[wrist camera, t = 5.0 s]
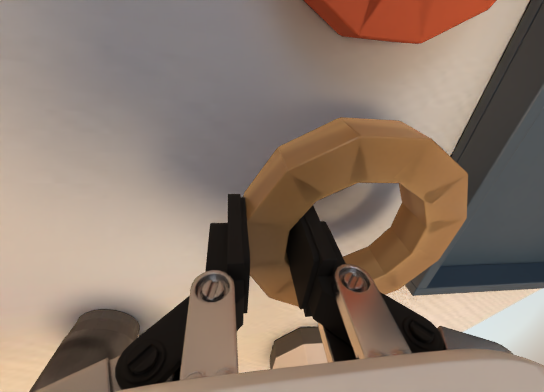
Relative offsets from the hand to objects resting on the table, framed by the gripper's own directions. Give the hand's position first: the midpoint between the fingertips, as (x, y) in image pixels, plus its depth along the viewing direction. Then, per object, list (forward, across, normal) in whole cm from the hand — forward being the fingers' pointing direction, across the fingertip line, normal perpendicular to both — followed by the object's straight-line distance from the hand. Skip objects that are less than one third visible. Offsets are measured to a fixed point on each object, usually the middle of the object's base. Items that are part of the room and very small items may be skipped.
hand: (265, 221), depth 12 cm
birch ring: (0, -4, 0) cm, 4 cm away
